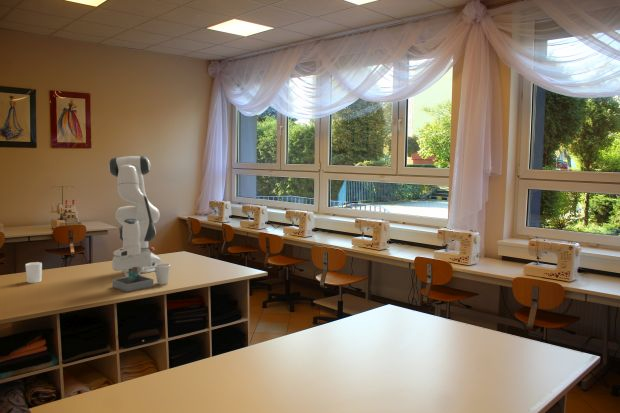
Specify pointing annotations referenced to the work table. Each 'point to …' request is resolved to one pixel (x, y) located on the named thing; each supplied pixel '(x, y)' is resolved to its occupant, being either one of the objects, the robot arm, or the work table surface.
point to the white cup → (34, 272)
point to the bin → (132, 284)
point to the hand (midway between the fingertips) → (132, 276)
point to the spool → (132, 275)
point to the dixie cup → (162, 273)
